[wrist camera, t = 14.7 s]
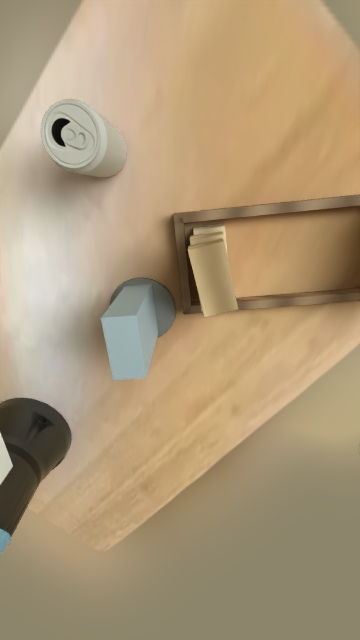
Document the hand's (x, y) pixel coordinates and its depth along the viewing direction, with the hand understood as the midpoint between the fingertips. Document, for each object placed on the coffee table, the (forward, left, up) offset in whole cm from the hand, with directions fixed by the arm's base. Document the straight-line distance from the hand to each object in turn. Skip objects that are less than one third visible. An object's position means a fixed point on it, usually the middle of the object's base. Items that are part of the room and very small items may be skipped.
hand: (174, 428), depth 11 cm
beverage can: (-10, +14, -37) cm, 41 cm away
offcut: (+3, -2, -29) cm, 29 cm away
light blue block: (-8, -8, -36) cm, 38 cm away
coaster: (-8, -8, -37) cm, 38 cm away
